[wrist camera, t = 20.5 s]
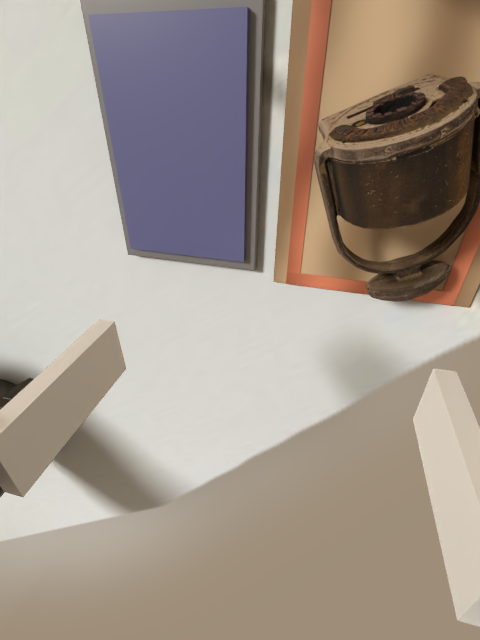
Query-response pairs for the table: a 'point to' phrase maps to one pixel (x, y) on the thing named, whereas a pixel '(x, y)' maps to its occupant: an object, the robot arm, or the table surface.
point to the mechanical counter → (403, 174)
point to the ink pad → (182, 123)
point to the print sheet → (345, 91)
